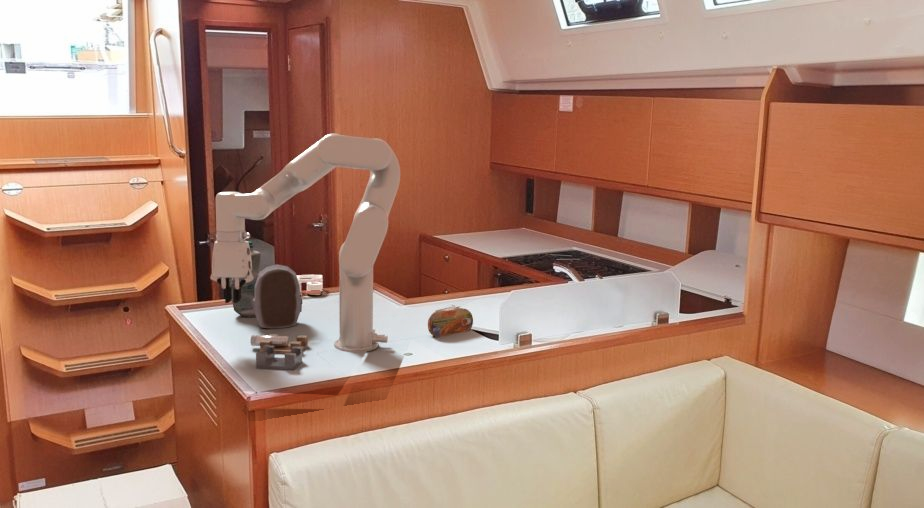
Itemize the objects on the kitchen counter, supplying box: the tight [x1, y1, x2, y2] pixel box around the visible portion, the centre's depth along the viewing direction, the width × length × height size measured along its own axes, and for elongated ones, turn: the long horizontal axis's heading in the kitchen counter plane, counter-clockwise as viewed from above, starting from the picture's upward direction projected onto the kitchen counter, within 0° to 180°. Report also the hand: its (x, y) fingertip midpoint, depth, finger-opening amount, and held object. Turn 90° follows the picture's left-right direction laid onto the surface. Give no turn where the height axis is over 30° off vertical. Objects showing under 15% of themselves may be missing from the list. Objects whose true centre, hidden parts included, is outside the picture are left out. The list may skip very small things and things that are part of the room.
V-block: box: [255, 345, 303, 371], centre depth 199 cm, size 10×7×4 cm
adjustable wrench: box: [434, 304, 461, 312], centre depth 256 cm, size 25×6×2 cm, turn 155°
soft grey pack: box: [253, 264, 303, 330], centre depth 235 cm, size 15×8×20 cm, turn 109°
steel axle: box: [250, 334, 290, 347], centre depth 213 cm, size 10×3×3 cm, turn 86°
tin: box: [427, 307, 474, 338], centre depth 230 cm, size 15×3×8 cm, turn 123°
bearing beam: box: [259, 333, 309, 355], centre depth 213 cm, size 11×8×3 cm
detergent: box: [229, 240, 262, 318], centre depth 245 cm, size 13×7×25 cm, turn 112°
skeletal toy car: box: [296, 274, 324, 293], centre depth 276 cm, size 20×11×7 cm, turn 115°
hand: (232, 301), depth 212 cm, fingers closed
